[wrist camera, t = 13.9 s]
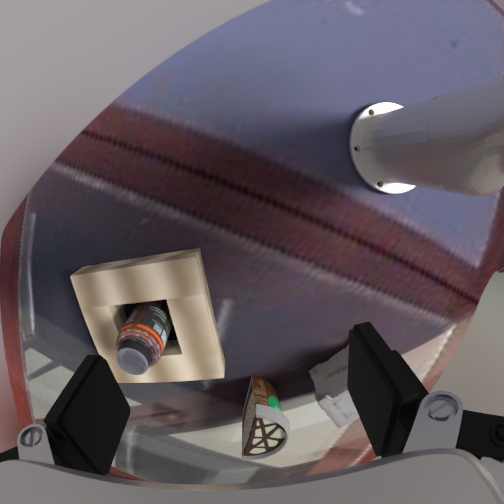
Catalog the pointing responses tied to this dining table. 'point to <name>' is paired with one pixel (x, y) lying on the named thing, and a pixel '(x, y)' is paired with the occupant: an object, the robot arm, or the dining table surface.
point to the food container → (263, 421)
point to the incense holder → (334, 389)
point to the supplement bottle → (143, 337)
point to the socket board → (151, 289)
